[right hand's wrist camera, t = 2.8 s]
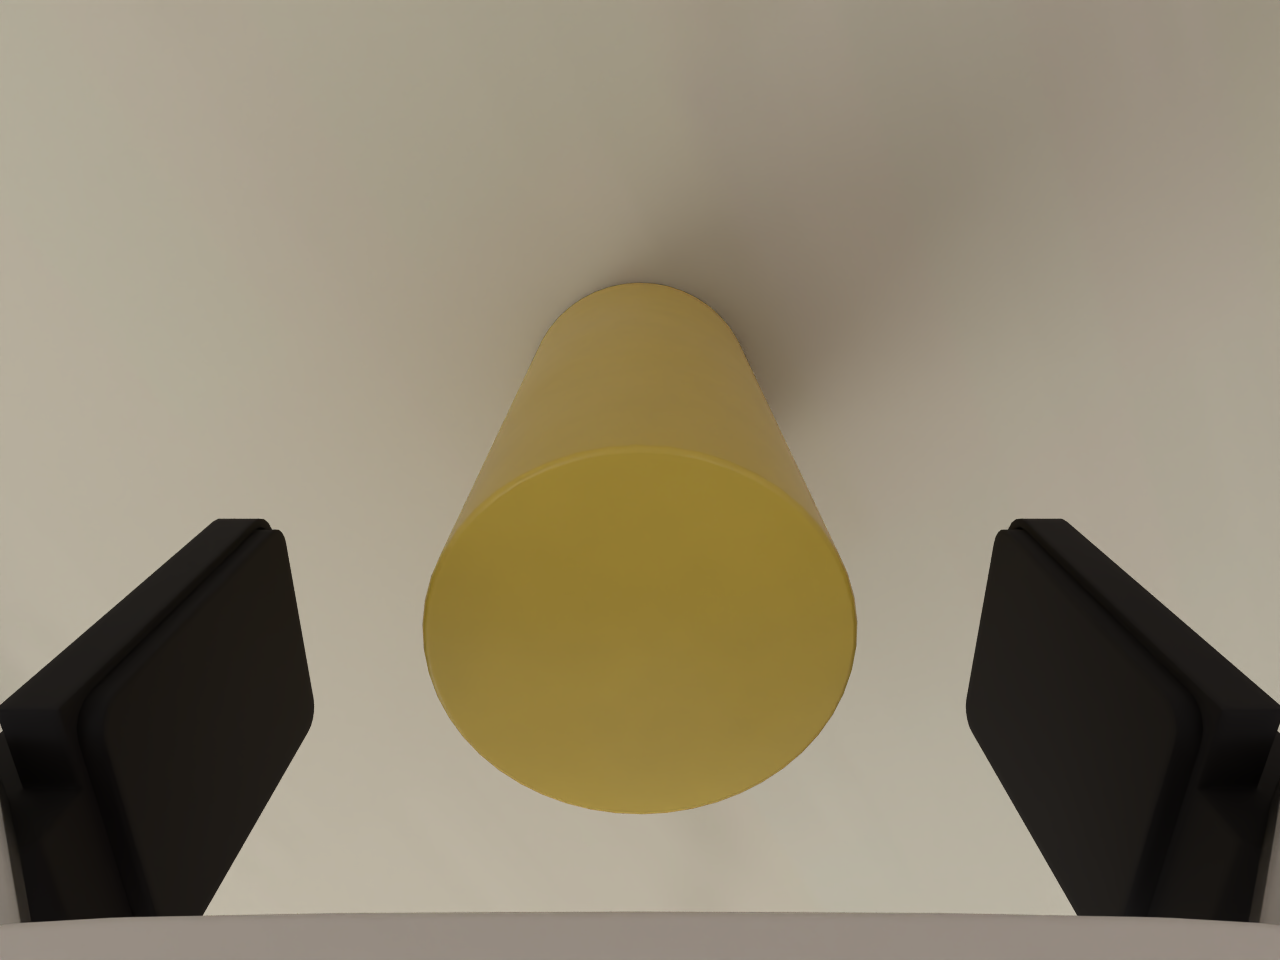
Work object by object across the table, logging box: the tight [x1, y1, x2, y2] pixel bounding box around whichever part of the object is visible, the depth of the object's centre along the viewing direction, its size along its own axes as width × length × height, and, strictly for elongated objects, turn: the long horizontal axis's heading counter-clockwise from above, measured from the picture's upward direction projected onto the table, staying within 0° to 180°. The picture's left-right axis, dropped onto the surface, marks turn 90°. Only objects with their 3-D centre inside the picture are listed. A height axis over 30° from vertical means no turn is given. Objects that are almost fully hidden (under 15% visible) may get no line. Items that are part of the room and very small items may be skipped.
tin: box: [423, 283, 857, 814], centre depth 14 cm, size 5×5×10 cm
